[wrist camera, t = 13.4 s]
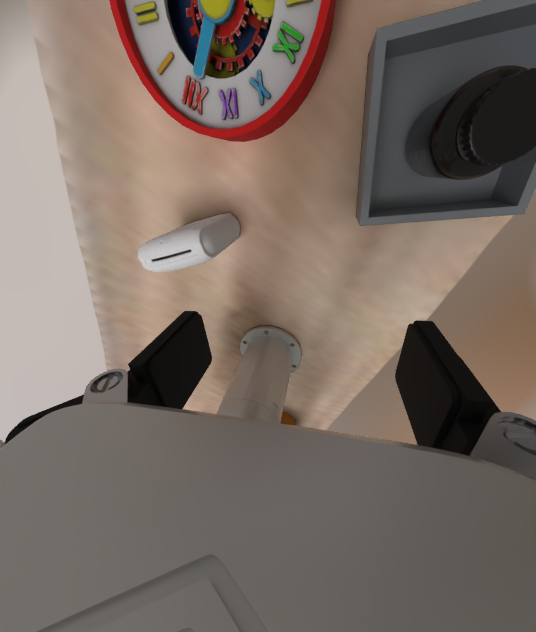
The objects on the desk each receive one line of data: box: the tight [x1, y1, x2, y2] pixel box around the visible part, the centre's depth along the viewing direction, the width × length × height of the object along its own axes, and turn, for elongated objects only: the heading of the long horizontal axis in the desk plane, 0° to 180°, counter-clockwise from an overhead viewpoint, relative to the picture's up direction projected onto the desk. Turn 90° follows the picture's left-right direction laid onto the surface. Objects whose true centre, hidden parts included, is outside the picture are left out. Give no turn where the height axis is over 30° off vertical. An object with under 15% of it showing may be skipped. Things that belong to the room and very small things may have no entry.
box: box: [356, 0, 536, 226], centre depth 23 cm, size 15×15×6 cm
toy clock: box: [109, 0, 336, 142], centre depth 21 cm, size 20×6×20 cm
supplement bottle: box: [405, 65, 536, 180], centre depth 19 cm, size 7×7×12 cm
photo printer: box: [138, 213, 240, 272], centre depth 32 cm, size 10×4×12 cm, turn 106°
